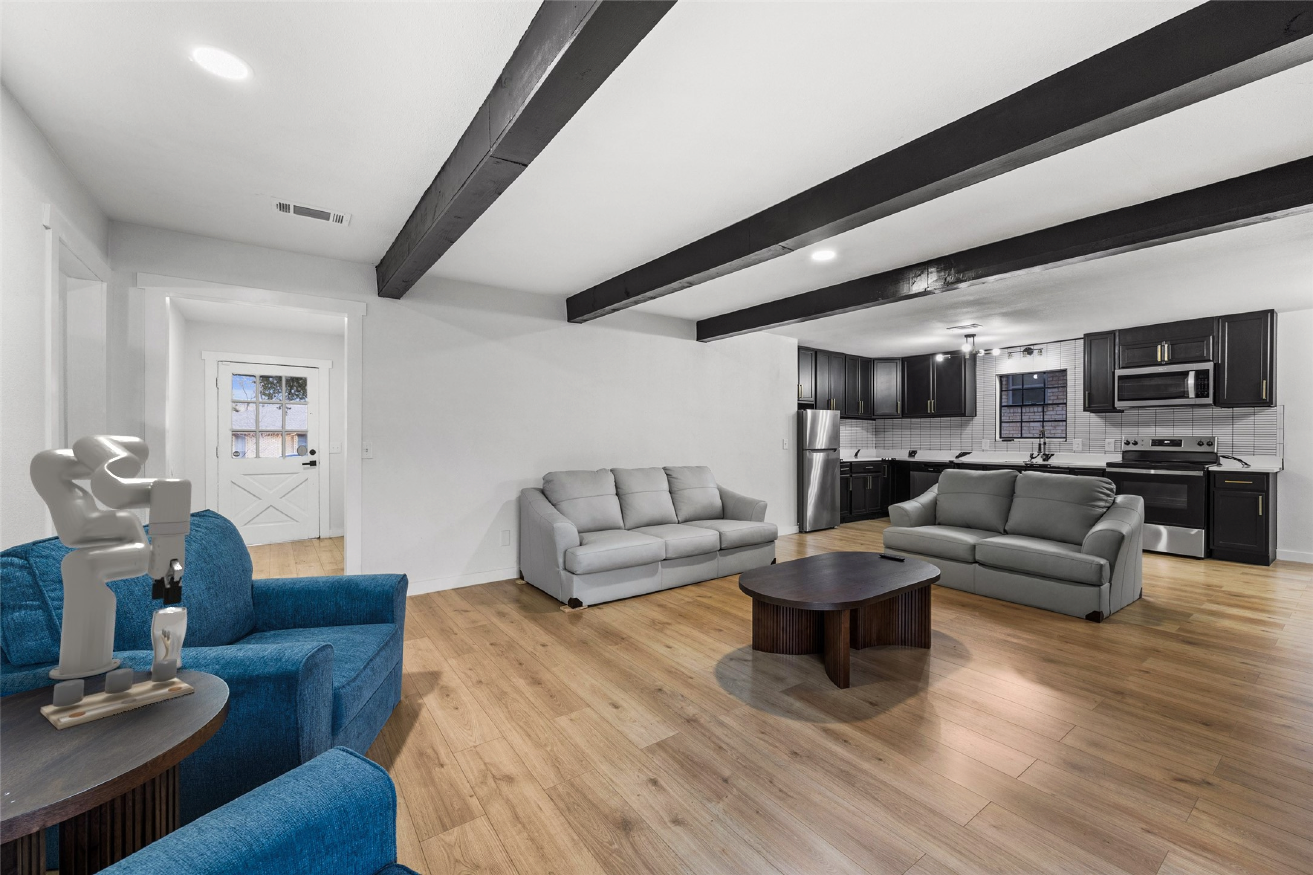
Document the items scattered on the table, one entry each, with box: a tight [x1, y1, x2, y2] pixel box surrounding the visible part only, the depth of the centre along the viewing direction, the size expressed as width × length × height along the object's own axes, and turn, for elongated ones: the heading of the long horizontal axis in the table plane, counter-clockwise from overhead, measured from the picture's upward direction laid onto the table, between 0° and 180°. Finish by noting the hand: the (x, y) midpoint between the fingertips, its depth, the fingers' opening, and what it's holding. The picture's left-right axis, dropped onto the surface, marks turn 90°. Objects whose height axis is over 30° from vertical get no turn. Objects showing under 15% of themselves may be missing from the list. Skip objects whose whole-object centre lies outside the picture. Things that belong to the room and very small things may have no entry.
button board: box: [40, 677, 195, 731], centre depth 123 cm, size 14×22×2 cm, turn 148°
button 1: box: [52, 678, 85, 707], centre depth 118 cm, size 4×4×4 cm
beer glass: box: [150, 606, 188, 673], centre depth 144 cm, size 7×7×15 cm
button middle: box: [104, 667, 134, 694], centre depth 124 cm, size 4×4×4 cm
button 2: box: [151, 658, 178, 682], centre depth 131 cm, size 4×4×4 cm
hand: (166, 601), depth 131 cm, fingers open, 9 cm apart
